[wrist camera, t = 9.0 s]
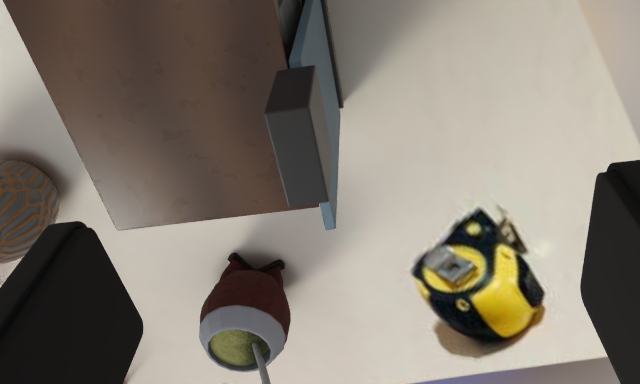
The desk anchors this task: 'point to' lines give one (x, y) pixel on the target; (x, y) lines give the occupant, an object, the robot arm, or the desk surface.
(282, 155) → the sliding door
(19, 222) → the vase
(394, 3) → the desk surface
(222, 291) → the mate gourd
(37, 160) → the desk surface
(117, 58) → the cabinet
